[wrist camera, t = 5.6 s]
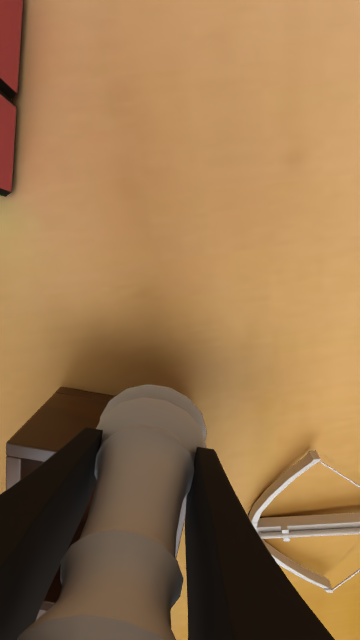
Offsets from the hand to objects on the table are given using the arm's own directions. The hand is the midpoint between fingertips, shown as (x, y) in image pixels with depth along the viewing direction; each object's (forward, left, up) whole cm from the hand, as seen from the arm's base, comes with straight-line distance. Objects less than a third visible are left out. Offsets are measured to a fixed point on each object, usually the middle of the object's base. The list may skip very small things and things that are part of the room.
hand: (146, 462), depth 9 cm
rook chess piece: (0, 0, -2) cm, 2 cm away
